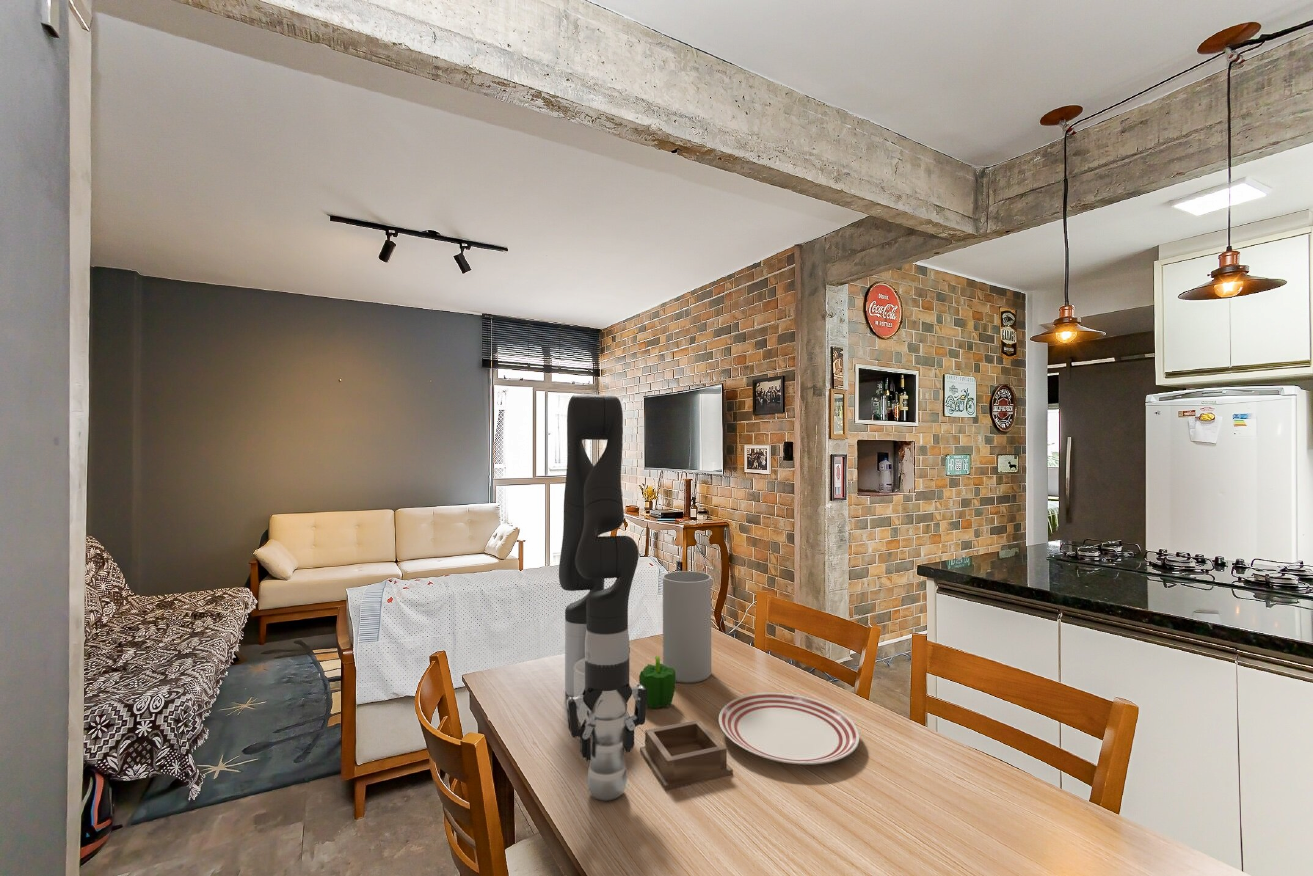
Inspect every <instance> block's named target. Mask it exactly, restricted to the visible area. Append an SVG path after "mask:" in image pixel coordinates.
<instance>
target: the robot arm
mask: <svg viewBox="0 0 1313 876" xmlns="http://www.w3.org/2000/svg"><path fill="white" fill-rule="evenodd" d="M566 413H567V414H566V442H567V443H566V448H567V449H566V453H567V455H566V456H567V457H566V460H567V461H566V472H565V484H564V485H565V487H564V492H563V493H564V496H563V497H564V498H563V531H562V541H561V542H562V543H561V548H560V549H561V550H560V555H559V556H560V557H559V563H558V564H559V566H558V580H559V585H560V587H561V588H562V590H564V591H567V592H576V591H578V592H579V591H588V593H587V594H586V595H585V596H583V597H582V598H581V599H578V600H576V601H573V602H571V603H569V604H568V605H567V606H566V608H565V610H564V692H565V694H566V695H567V696H566V697H565V704H566V717H567V727H568V730H569V732H570V734H571V737H572V738H573V739H576V738H579V753H580V754H581V756H582V758H583V759H584V760H585V762H590V760H591V732H592V730H593V728H594V727H595V726H596V720H595V712H594V714H592V716H591V718H590V717H589V712H588V708H589V709H590V711H591V710H592V709H593V706H594V705H595V703H596V701H597V699H598V698H599V697H600V695H601V694H602V691H613V690H617V691H618V692H619V693H620V694H621V695H622V696H623V698H624V699H625V700H626V703H627V704H628V702H629V700H630V699H631V697H632V698H633V699H634V710H633V711H634V712H633V715H632V716H631V714H630V713H629V711H628V709H627V710H626V717H625V727H624V738H623V739H624V743H623V747H624V752H625V753H631V752H632V749H634V747H635V729H636V727H638V726H642V725H644V724H645V723H646V715H647V694H648V691H647V690H646V689H645V687H644V686H643V685H642V684H639V683H638V684H637V685H636V686H631V685H630V654H631V647H630V634H629V599H630V593H631V588H632V583H633V581H634V577H635V573H636V570H637V566H638V562H639V558H640V557H639V555H640V554H639V547H638V545H637V543H636V541H635V540H634V539H633V538H632V537H631V536H629V535H608V536H607V535H603V534H607V533H610V532H613V531H615V530H618V529H619V528H620V527H621V526H623V523H624V520H625V519H624V518H625V514H624V513H625V512H624V504H623V503H624V502H623V501H624V499H623V491H622V464H623V463H622V462H623V437H624V433H623V432H624V429H623V428H624V417H623V416H624V415H623V413H624V412H623V407H622V402H621V400H620V399H619V397H617V396H615V395H610V394H608V395H607V394H603V395H602V394H588V393H586V394H585V393H583V394H582V393H581V394H579V393H577V394H573V395H572V396H571V397H570V398H569V401H568V405H567V411H566ZM584 440H585V441H586V440H587V441H588V440H589V441H594V440H595V441H606V446H605V448H604V451H603V453H602V454H601V456H600V457H599V459H598V460H597V462H596V463H595V464H593V463H592V461H591V459H590V458H589V456H588V454H587V452H586V449H585V447H584V444H583V441H584ZM601 535H603V536H601ZM605 579H615V581H614V583H613V584H612V585H611V586H609V587H607V588H605ZM584 658H585V689H584V691H583V693H582V695H579V696H576V697H574V665H575V663H576V662H578V661H579V660H581V659H584ZM619 699H620V698H619ZM620 700H621V699H620ZM603 701H604V700H600V702H599V705H598V707H599V706H600V705H601V703H602V702H603ZM582 703H585V704H586V706H587V707H588V708H587V710H586V712H585V715H584V719H583V721H582V723H581V724H580V725H579V719H578V716H577V711H579V710H580V706H581V704H582ZM598 707H597V708H598Z"/></svg>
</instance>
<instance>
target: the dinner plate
mask: <svg viewBox="0 0 1313 876" xmlns="http://www.w3.org/2000/svg"><path fill="white" fill-rule="evenodd" d="M718 724H719V726H720V729H721V730H722V732H723V734H724V735H725V736H726V737H727V738H728V739H729V740H731V742H733V743H734V744H735V745H737V746H739V748H741V749H743V750H745V751H747V752H749V753H750V754H753V755H755V756H758V757H761V758H764V759H767V760H769V761H770V760H771V761H774V762H778V763H779V762H780V763H783V764H793V765H820V764H821V765H822V764H829V763H832V762H837V761H839V760H841V759H844V758H846V757H848V756H849V755H851V754H852V753H853V752H854V751H855V750H856V749H857V748H858V746H859V743H860V732H859V730H858V727H857V726H856V724H855V723H854V722H853V720H852V719H851V718H850V717H849V716H847V715H846V714H845V713H843V712H842V710H841V711H840V710H839V709H837V708H836V707H833V706H832V705H829V704H827V703H825V702H823V701H820V700H818V699H814V698H810V697H807V696H802V695H797V694H792V693H783V692H757V693H756V692H755V693H750V694H746V695H742V696H739V697H737V698H735V699H732V700H731V701H729V702H728V703H726V704H725V705H724V706H723V707H722V709H721V710H720V712H719V715H718Z"/></svg>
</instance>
